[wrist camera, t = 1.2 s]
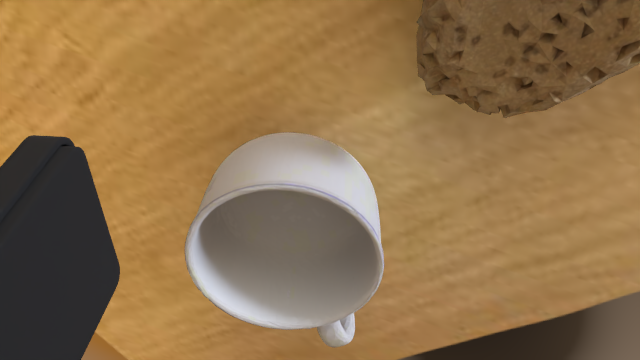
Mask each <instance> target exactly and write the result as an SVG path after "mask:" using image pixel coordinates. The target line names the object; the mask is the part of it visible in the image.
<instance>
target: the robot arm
mask: <svg viewBox="0 0 640 360" xmlns="http://www.w3.org/2000/svg"><path fill="white" fill-rule="evenodd" d="M119 275H120V267H119V262H118V259H117V256H116V253H115V249H114V246H113V243H112V240H111V236H110V233H109V230H108V227H107V224H106V220H105V217H104V214H103V211H102V207H101V204H100V201H99V198H98V195H97V191H96V188H95V185H94V182H93V179H92V175H91V172H90V169H89V166H88V162H87V159H86V156H85V154H84V151H83V150H82V149H81V148H79V147H75V146H74V144H73V142H72V141H71V140H70V139H69V138H66V137H53V136H35V135H33V136H28V137H27V138H26V139H25V140H24V141H23V142H22V143H21V144H20V145H19V146H18V148H17V149H16V150H15V151H14V152H13V153H12V154H11V156H10V157H9V158H8V159H7V160H6V161H5V163H4V164H3V165H2V166H1V167H0V360H81V358H82V356H83V354H84V352H85V350H86V348H87V346H88V344H89V342H90V340H91V338H92V336H93V334H94V332H95V330H96V328H97V326H98V324H99V322H100V320H101V318H102V316H103V314H104V312H105V310H106V308H107V305H108V303H109V301H110V299H111V297H112V295H113V293H114V291H115V289H116V287H117V284H118V281H119Z"/></svg>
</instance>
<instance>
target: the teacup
mask: <svg viewBox="0 0 640 360" xmlns="http://www.w3.org/2000/svg"><path fill="white" fill-rule="evenodd" d="M185 260H186V264H187V269H188V271H189V274H190V276H191V277H192V279H193V281H194V283H195V285H196V286H197V288H198V289H199V290H200V291H201V292H202V293H203V295H204V296H205V297H206V298H208V299H209V300H210V301H211V302H212V303H213V304H214V305H215V306H216V307H218V308H220V309H221V310H223V311H224V312H226V313H227V314H229V315H231V316H233V317H235V318H238V319H240V320H242V321H245V322H248V323H251V324H254V325H258V326H261V327H267V328H273V329H285V330H292V329H310V328H314V327H317V330H318V333H319V335H320V337H321V339H322V340H323V342H324V343H325V344H326V345H328V346H330V347H340V346H343V345H346V344H348V343H349V342H350V341H351V340H352V339H353V337H354V332H355V317H354V312H356V311H357V310H359V309H360V308H361V307H363V306H364V305H365V304H366V303H367V302H368V301H369V300H370V298H371V297H372V296H373V295H374V293H375V292H376V290H377V288H378V286H379V284H380V282H381V279H382V275H383V270H384V255H383V249H382V245H381V233H380V221H379V211H378V204H377V199H376V195H375V191H374V188H373V186H372V183H371V181H370V179H369V177H368V175H367V173H366V172H365V170H364V169H363V167H362V166H361V165H360V164H359V163H358V161H357V160H356V159H355V158H354V157H352V156H351V155H350V154H349V153H348V152H347V151H345V150H344V149H343V148H341V147H340V146H338V145H336V144H334V143H332V142H330V141H328V140H326V139H323V138H320V137H317V136H313V135H309V134H303V133H295V132H283V133H274V134H269V135H265V136H262V137H258V138H255V139H253V140H250V141H249V142H247V143H245V144H243V145H241V146H240V147H239V148H237V149H236V150H234V151H233V152H232V153H231V154H230V155H229V156H228V157H227V158H226V159H225V160H224V161H223V162H222V163H221V165H220V166H219V167H218V169H217V170H216V172H215V174H214V175H213V177H212V179H211V181H210V183H209V185H208V187H207V190H206V192H205V194H204V197H203V199H202V202H201V205H200V207H199V210H198V213H197V216H196V217H195V219H194V220H193V222H192V224H191V226H190V228H189V231H188V234H187V238H186V242H185Z"/></svg>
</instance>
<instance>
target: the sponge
mask: <svg viewBox="0 0 640 360" xmlns="http://www.w3.org/2000/svg"><path fill="white" fill-rule="evenodd" d="M417 23H418V24H419V26H418V31H417V67H418V76H419V77H420V78H422V79H423V80H424V81H425V85H426V89H427V91H429V92H430V93H431V94H432V95H446V96H448V97H450V98H452V99H453V100H454V101H456V102H457V103H458V104H464V103H466V104H467V105H468V106H470V107H471V108H472V109H473V110H475V111H477V112H482V113H485V114H489V115H491V113H499V112H500V109H501V110H502V114H503V118H506V117H510V116H514V115H518V114H522V113H526V112H534V111H542V110H546V109H548V108H551V107H553V106H555V105H557V104H559V103H561V102H563V101H565V100H568V99H570V98H572V97H575V96H577V95H579V94H581V93H583V92H585V91H587V90H589V89H591V88H592V87H594V86H596V85H598V84H600V83H602V82H603V81H605V80H606V79H608V78H610V77H613V76H615V75H618V74H621V73H623V72H625V71H626V70H628V69H630V68H632V67H634V66H635V65H637V64H639V63H640V0H424V1H423V6H422V11H421V16H420V18H419V19H418V21H417Z"/></svg>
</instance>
